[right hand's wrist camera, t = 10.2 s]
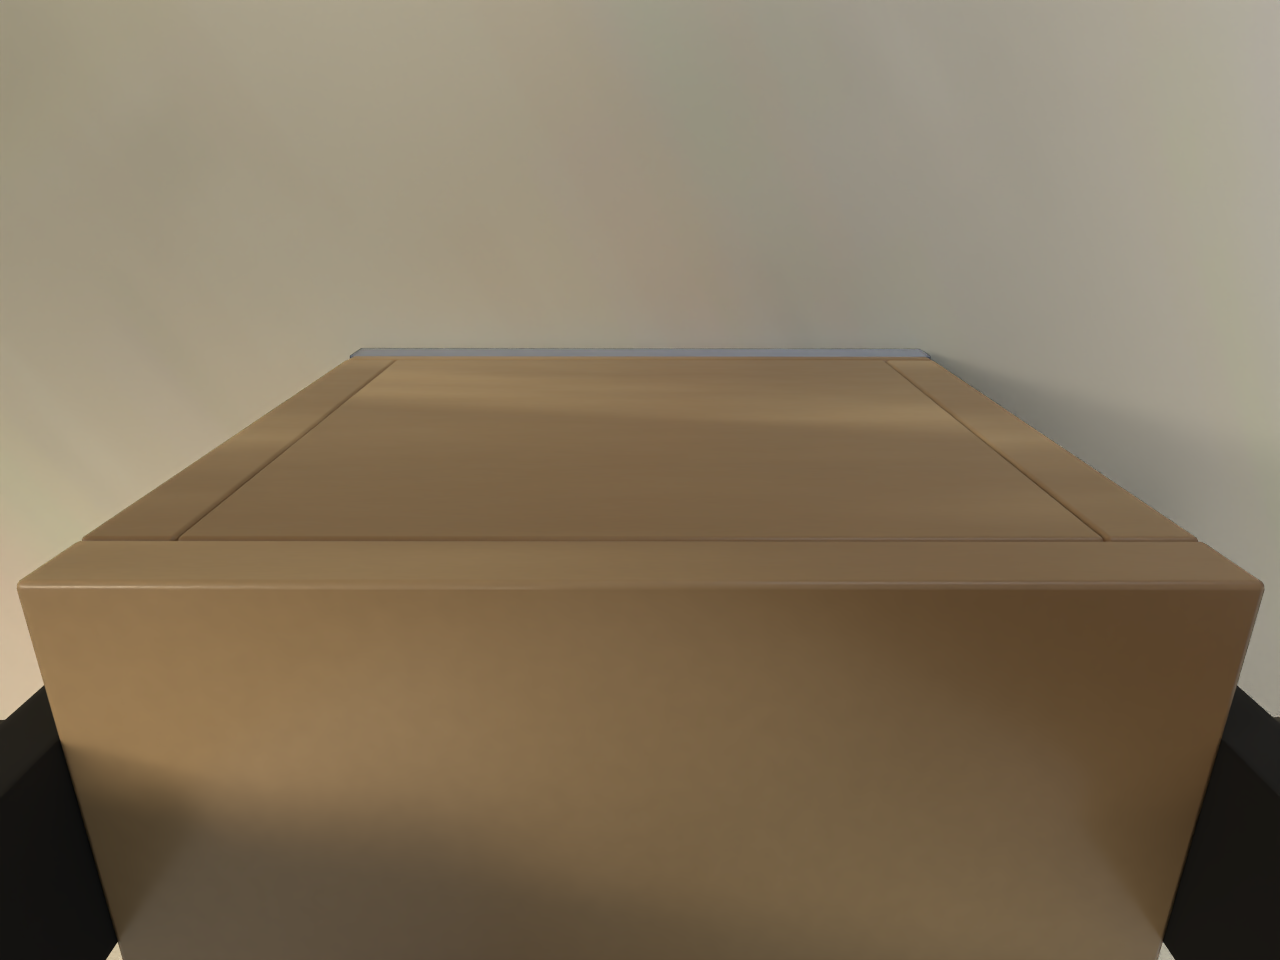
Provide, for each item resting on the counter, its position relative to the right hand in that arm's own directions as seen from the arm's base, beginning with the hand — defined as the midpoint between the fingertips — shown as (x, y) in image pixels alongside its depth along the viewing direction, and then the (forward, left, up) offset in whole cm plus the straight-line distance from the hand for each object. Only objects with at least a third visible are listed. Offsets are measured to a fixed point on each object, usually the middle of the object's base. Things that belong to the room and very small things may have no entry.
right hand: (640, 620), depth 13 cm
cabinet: (+2, -5, -6) cm, 8 cm away
